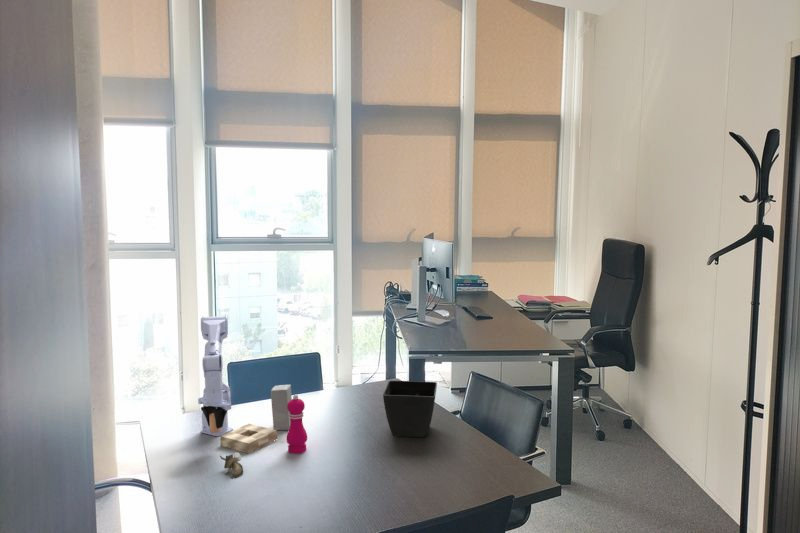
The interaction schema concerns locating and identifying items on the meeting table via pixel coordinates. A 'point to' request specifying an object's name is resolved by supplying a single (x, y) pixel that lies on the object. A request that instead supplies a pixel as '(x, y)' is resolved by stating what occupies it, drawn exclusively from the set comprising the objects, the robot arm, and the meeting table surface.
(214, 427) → the peg
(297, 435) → the pepper mill
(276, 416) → the skincare box
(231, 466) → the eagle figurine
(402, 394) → the flower pot
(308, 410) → the meeting table surface
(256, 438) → the bore block
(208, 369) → the robot arm
